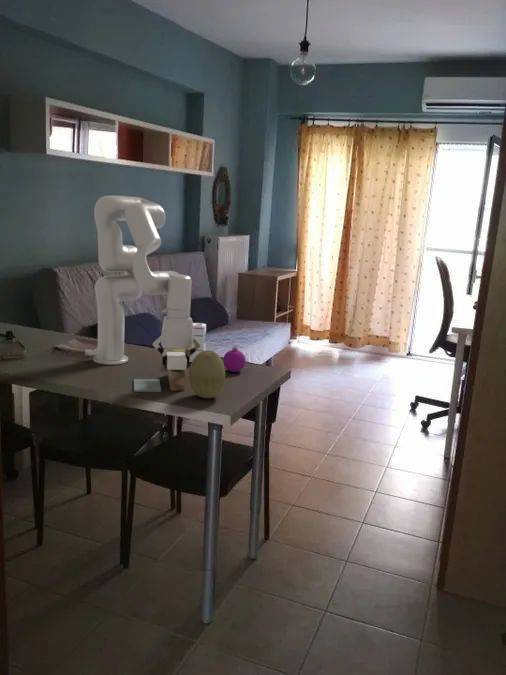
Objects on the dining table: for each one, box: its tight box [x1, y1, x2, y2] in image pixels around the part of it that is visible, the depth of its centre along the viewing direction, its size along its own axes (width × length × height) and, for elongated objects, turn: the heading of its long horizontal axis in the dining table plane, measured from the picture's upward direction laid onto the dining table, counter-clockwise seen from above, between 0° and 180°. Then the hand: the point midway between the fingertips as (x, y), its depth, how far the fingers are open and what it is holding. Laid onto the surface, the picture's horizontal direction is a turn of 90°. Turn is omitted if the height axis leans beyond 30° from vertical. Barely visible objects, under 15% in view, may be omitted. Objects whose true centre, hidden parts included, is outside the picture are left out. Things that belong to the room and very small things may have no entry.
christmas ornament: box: [222, 346, 246, 373], centre depth 214 cm, size 8×8×10 cm
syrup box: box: [189, 322, 207, 363], centre depth 225 cm, size 6×6×14 cm
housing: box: [167, 370, 186, 391], centre depth 197 cm, size 4×18×6 cm, turn 11°
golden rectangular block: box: [168, 347, 193, 353], centre depth 201 cm, size 2×9×6 cm, turn 82°
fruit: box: [188, 349, 226, 399], centre depth 183 cm, size 11×11×15 cm
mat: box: [133, 378, 162, 393], centre depth 192 cm, size 8×12×1 cm
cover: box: [166, 351, 188, 371], centre depth 193 cm, size 6×10×3 cm, turn 11°
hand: (175, 366), depth 194 cm, fingers closed on cover, 6 cm apart
